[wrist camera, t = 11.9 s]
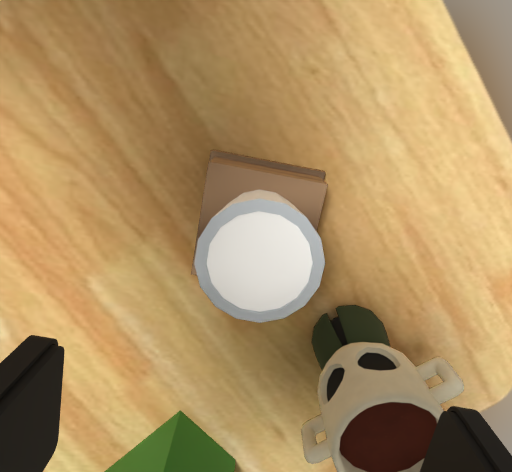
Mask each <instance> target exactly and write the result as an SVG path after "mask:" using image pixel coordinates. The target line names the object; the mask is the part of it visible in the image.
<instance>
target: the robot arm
mask: <svg viewBox="0 0 512 472" xmlns="http://www.w3.org/2000/svg"><path fill="white" fill-rule="evenodd" d="M63 364H64V348H63V347H62V346H58V342H57V340H56V339H52V338H46V337H41V336H35V335H31V336H29V337H28V338H27V339H26V340H25V341H23V342H22V343H21V344H20V345H19V346H18V347H17V348H16V349H15V350H14V351H13V352H12V353H11V354H10V355H9V356H7V357H6V358H5V359H4V360H3V361H2V362H1V363H0V472H43V470H44V468H45V467H46V465H47V464H48V462H49V460H50V459H51V457H52V455H53V453H54V451H55V449H56V446H57V442H58V434H59V420H60V406H61V392H62V378H63ZM420 472H512V456H511V454H510V453H509V452H508V450H507V449H506V448H505V446H504V445H503V444H502V442H501V441H500V440H499V438H498V437H497V436H496V434H495V433H494V432H493V430H492V429H491V428H490V426H489V425H488V424H487V422H486V421H485V420H484V418H483V417H482V416H481V414H480V413H479V412H478V411H476V410H473V409H467V408H461V407H455V406H452V407H450V408H449V409H448V410H447V411H443V412H442V413H441V415H440V417H439V420H438V423H437V426H436V428H435V431H434V434H433V437H432V439H431V442H430V445H429V447H428V450H427V453H426V456H425V458H424V461H423V464H422V467H421V469H420Z"/></svg>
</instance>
